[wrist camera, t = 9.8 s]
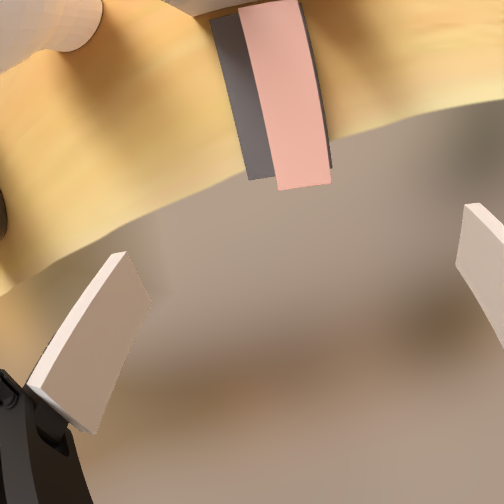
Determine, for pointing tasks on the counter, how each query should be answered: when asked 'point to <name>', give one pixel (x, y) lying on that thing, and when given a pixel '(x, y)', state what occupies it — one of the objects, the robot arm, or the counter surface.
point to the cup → (44, 27)
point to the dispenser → (204, 5)
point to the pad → (249, 94)
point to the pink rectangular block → (287, 92)
